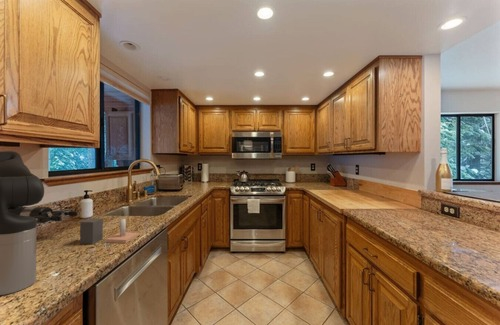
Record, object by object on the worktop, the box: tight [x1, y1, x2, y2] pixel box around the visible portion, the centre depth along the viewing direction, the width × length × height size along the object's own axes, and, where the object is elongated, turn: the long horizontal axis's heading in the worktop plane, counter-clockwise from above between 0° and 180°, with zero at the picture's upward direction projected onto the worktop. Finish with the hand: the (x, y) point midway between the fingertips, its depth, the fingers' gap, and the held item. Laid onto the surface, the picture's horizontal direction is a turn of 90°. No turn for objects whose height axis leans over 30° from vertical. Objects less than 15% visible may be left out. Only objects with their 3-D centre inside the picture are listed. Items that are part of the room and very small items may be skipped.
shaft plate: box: [104, 218, 139, 244], centre depth 104 cm, size 10×10×10 cm
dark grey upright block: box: [79, 218, 104, 245], centre depth 100 cm, size 6×6×10 cm
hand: (69, 216), depth 100 cm, fingers open, 8 cm apart
